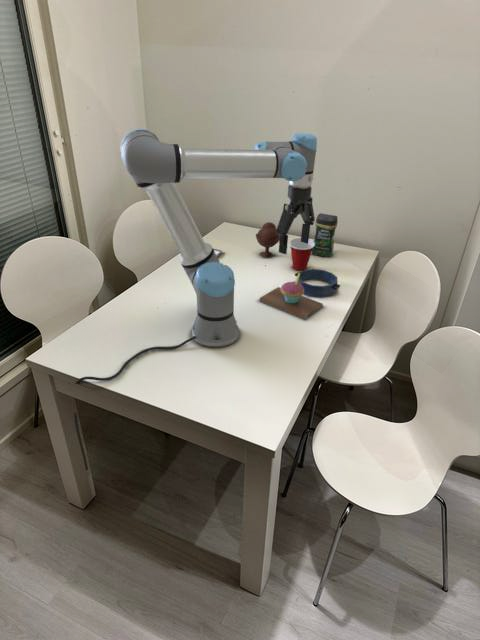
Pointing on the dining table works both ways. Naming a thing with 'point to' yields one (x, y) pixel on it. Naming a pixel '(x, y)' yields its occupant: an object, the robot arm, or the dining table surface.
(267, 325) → the dining table surface
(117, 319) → the dining table surface
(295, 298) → the cupcake
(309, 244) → the plastic cup
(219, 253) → the smartphone
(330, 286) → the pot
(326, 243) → the coffee jar
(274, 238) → the ice cream bowl
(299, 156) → the robot arm
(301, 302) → the cutting board
